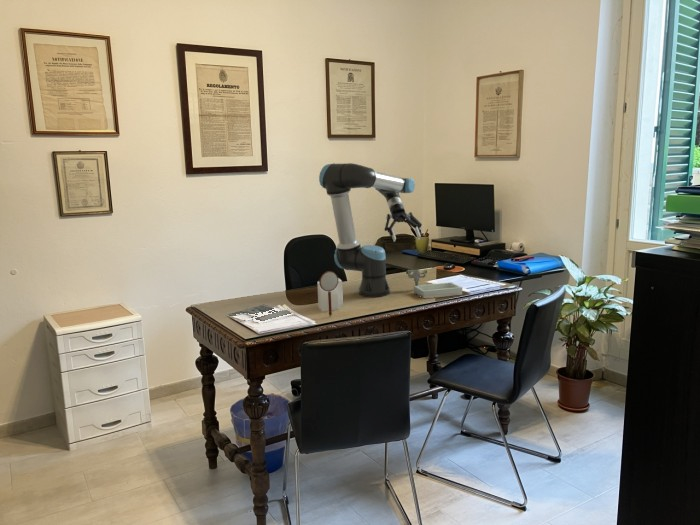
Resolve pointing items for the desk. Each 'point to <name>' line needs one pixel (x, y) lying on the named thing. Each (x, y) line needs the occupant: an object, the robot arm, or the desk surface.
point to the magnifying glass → (329, 285)
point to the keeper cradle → (438, 290)
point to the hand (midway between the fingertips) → (407, 239)
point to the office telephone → (262, 309)
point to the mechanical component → (416, 275)
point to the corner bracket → (335, 297)
